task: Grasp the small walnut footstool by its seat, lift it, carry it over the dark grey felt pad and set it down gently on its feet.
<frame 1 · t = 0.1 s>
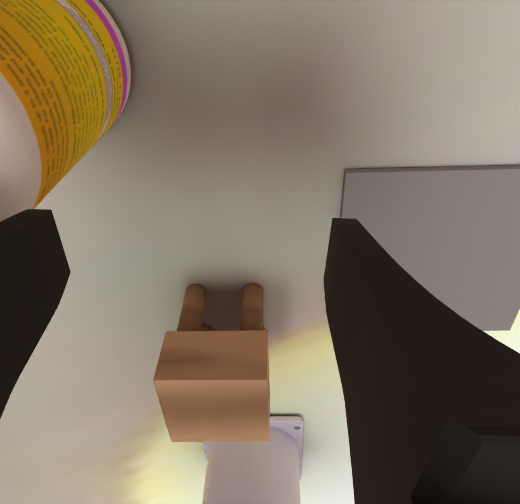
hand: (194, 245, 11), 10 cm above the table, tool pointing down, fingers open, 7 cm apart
stool: (226, 311, 27), on the table
pad: (436, 257, 24), on the table
supplement bottle: (56, 57, 18), on the table, touching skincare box
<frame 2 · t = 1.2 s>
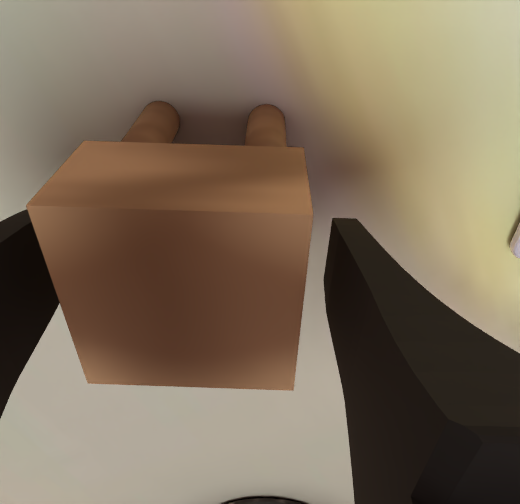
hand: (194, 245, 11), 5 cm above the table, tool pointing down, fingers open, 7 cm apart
stool: (215, 169, 15), on the table
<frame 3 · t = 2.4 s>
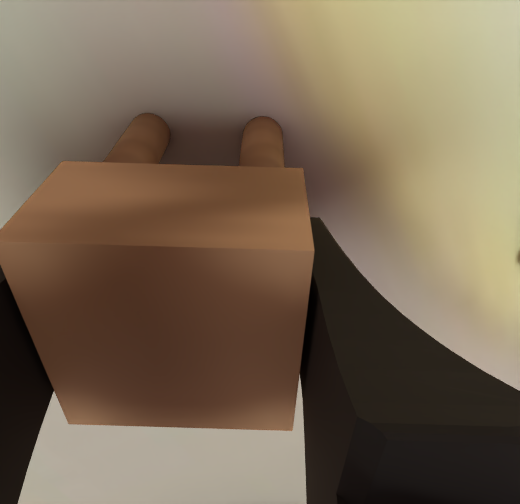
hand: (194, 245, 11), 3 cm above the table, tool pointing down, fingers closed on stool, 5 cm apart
stool: (209, 184, 14), on the table, touching gripper
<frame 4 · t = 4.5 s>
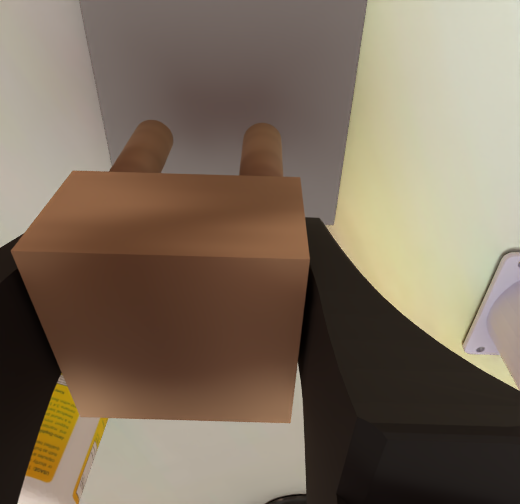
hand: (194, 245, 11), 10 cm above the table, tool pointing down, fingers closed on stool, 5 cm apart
stool: (210, 187, 15), point 6 cm above the table, touching gripper
pad: (226, 114, 19), on the table
supplement bottle: (76, 363, 30), on the table, touching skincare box
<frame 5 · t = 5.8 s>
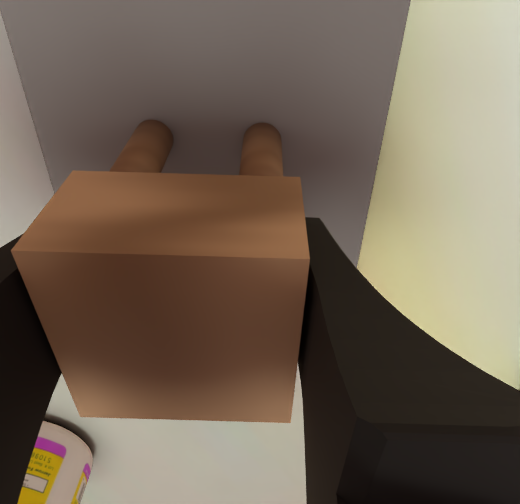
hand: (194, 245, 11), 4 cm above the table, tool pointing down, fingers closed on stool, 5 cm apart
stool: (210, 187, 15), point 1 cm above the table, touching gripper
pad: (212, 171, 15), on the table
supplement bottle: (41, 441, 26), on the table, touching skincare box
when the fingers open (4 cm above the table, at t = 6.7 s): stool stays where it is, resting on pad.
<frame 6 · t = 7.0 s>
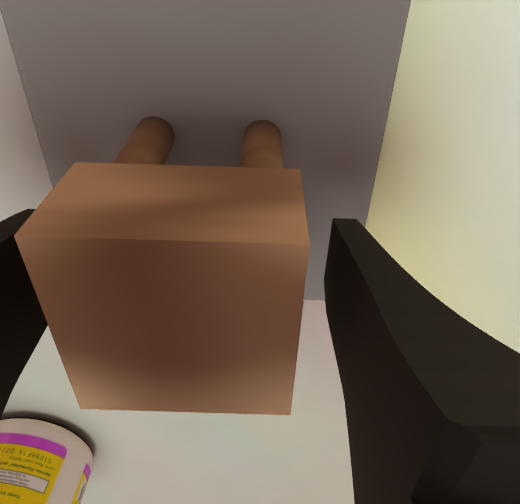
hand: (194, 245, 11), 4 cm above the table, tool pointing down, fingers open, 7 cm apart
stool: (211, 184, 15), resting on pad
pad: (212, 171, 15), on the table
supplement bottle: (42, 441, 26), on the table, touching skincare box
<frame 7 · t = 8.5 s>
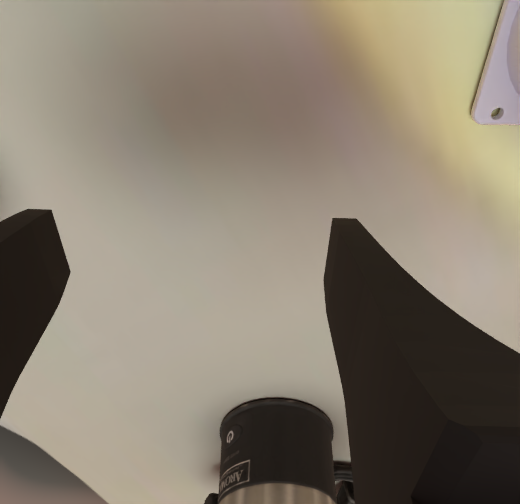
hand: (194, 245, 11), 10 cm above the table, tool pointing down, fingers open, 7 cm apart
milk frother: (303, 449, 37), on the table
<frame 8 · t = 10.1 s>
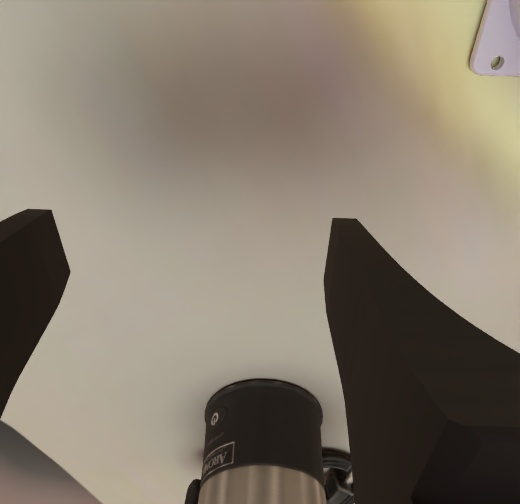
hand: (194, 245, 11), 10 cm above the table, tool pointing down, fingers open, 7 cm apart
milk frother: (291, 434, 36), on the table
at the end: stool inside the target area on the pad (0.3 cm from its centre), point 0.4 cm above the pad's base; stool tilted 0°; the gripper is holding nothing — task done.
